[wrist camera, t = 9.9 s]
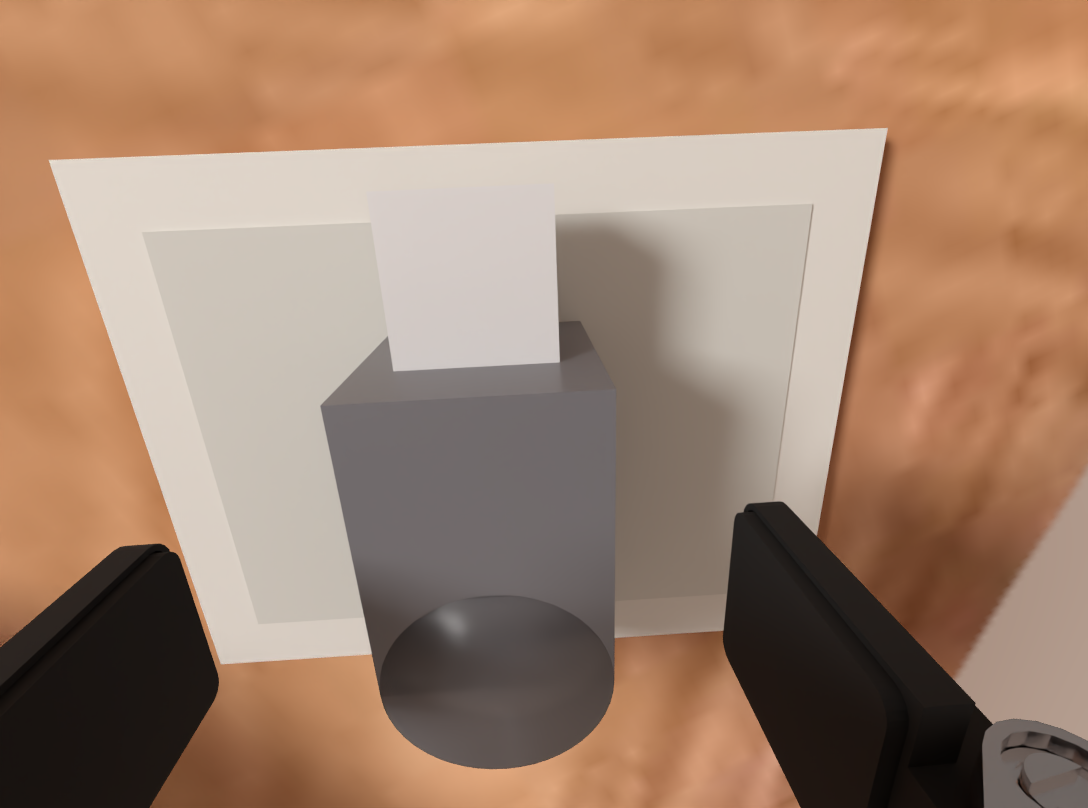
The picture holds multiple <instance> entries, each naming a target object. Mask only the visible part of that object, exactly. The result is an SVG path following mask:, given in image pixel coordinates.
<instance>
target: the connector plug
mask: <svg viewBox="0 0 1088 808" xmlns="http://www.w3.org/2000/svg"><path fill="white" fill-rule="evenodd" d="M366 194H367V201H368V207H369V214H370V221H371V227H372V234H373V240H374V247H375V254H376V260H377V267H378V273H379V280H380V287H381V293H382V300H383V306H384V313H385V320H386V326H387V333H388V336H387V337H386V338H385V339H384V340H383V341H382V342H381V343H380V345H379V346H378V347H377V348H376V349H375V350H374V351H373V352H372V353H371V354H370V355H369V356H368V357H367V358H366V359H365V360H364V361H363V362H362V363H361V364H360V365H359V366H358V367H357V368H356V369H355V370H354V371H353V372H352V373H351V374H350V375H349V377H348V378H347V379H346V380H345V381H344V382H343V383H342V384H341V385H340V386H339V387H338V388H337V389H336V390H335V391H334V392H333V393H332V394H331V395H330V396H329V397H328V398H327V399H326V400H325V401H324V402H323V403H322V404H321V405H320V407H321V412H322V417H323V422H324V427H325V431H326V436H327V441H328V446H329V451H330V455H331V460H332V465H333V470H334V475H335V479H336V484H337V489H338V494H339V499H340V503H341V508H342V513H343V518H344V523H345V527H346V532H347V537H348V542H349V547H350V551H351V556H352V561H353V566H354V571H355V575H356V580H357V585H358V590H359V595H360V599H361V604H362V609H363V614H364V619H365V623H366V628H367V633H368V638H369V642H370V647H371V652H372V657H373V662H374V666H375V671H376V676H377V681H378V686H379V690H380V695H381V699H382V703H383V706H384V709H385V711H386V713H387V715H388V717H389V719H390V720H391V722H392V723H393V725H394V726H395V727H396V729H397V730H398V731H399V732H400V733H401V734H402V735H403V736H404V737H405V738H406V739H407V740H408V741H410V742H411V743H412V744H413V745H415V746H416V747H418V748H419V749H421V750H423V751H424V752H426V753H428V754H430V755H432V756H434V757H436V758H439V759H441V760H444V761H447V762H450V763H453V764H457V765H461V766H466V767H473V768H482V769H507V768H516V767H522V766H527V765H532V764H535V763H539V762H542V761H545V760H548V759H550V758H553V757H555V756H557V755H560V754H561V753H563V752H565V751H567V750H569V749H570V748H572V747H573V746H575V745H576V744H578V743H579V742H581V741H582V740H583V739H584V738H585V737H586V736H588V735H589V734H590V733H591V732H592V731H593V729H594V728H595V727H596V726H597V725H598V724H599V722H600V721H601V719H602V718H603V716H604V715H605V713H606V711H607V709H608V706H609V704H610V702H611V698H612V694H613V688H614V643H615V508H616V388H615V386H614V384H613V382H612V380H611V378H610V376H609V374H608V373H607V371H606V369H605V367H604V365H603V363H602V361H601V359H600V357H599V356H598V354H597V352H596V350H595V348H594V346H593V344H592V342H591V340H590V339H589V337H588V335H587V333H586V331H585V329H584V327H583V325H582V323H581V322H580V321H569V322H558V292H557V261H556V231H555V200H554V183H550V184H527V185H505V186H482V187H459V188H437V189H414V190H392V191H369V192H366Z"/></svg>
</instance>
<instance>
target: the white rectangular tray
mask: <svg viewBox="0 0 1088 808" xmlns="http://www.w3.org/2000/svg"><path fill="white" fill-rule="evenodd" d="M887 129H888V128H877V129H851V130H824V131H798V132H772V133H746V134H720V135H694V136H668V137H642V138H615V139H589V140H563V141H537V142H511V143H485V144H459V145H432V146H406V147H380V148H354V149H328V150H302V151H276V152H249V153H223V154H197V155H171V156H145V157H119V158H93V159H67V160H49V162H50V165H51V168H52V171H53V174H54V177H55V180H56V183H57V186H58V189H59V192H60V195H61V197H62V200H63V203H64V206H65V209H66V212H67V215H68V218H69V221H70V224H71V227H72V230H73V233H74V236H75V238H76V241H77V244H78V247H79V250H80V253H81V256H82V259H83V262H84V265H85V268H86V271H87V274H88V276H89V279H90V282H91V285H92V288H93V291H94V294H95V297H96V300H97V303H98V306H99V309H100V312H101V315H102V317H103V320H104V323H105V326H106V329H107V332H108V335H109V338H110V341H111V344H112V347H113V350H114V353H115V356H116V358H117V361H118V364H119V367H120V370H121V373H122V376H123V379H124V382H125V385H126V388H127V391H128V394H129V397H130V399H131V402H132V405H133V408H134V411H135V414H136V417H137V420H138V423H139V426H140V429H141V432H142V435H143V438H144V440H145V443H146V446H147V449H148V452H149V455H150V458H151V461H152V464H153V467H154V470H155V473H156V476H157V478H158V481H159V484H160V487H161V490H162V493H163V496H164V499H165V502H166V505H167V508H168V511H169V514H170V517H171V519H172V522H173V525H174V528H175V531H176V534H177V537H178V540H179V543H180V546H181V549H182V552H183V555H184V558H185V560H186V563H187V566H188V569H189V572H190V575H191V578H192V581H193V584H194V587H195V590H196V593H197V596H198V599H199V601H200V604H201V607H202V610H203V613H204V616H205V619H206V622H207V625H208V628H209V631H210V634H211V637H212V640H213V642H214V645H215V648H216V651H217V654H218V657H219V660H220V663H221V664H233V663H248V662H263V661H278V660H293V659H308V658H323V657H338V656H353V655H367V654H372V652H371V647H370V642H369V638H368V633H367V628H366V623H365V619H364V614H363V609H362V604H361V599H360V595H359V590H358V585H357V580H356V575H355V571H354V566H353V561H352V556H351V551H350V547H349V542H348V537H347V532H346V527H345V523H344V518H343V513H342V508H341V503H340V499H339V494H338V489H337V484H336V479H335V475H334V470H333V465H332V460H331V455H330V451H329V446H328V441H327V436H326V431H325V427H324V422H323V417H322V412H321V407H320V405H321V404H322V403H323V402H324V401H325V400H326V399H327V398H328V397H329V396H330V395H331V394H332V393H333V392H334V391H335V390H336V389H337V388H338V387H339V386H340V385H341V384H342V383H343V382H344V381H345V380H346V379H347V378H348V377H349V375H350V374H351V373H352V372H353V371H354V370H355V369H356V368H357V367H358V366H359V365H360V364H361V363H362V362H363V361H364V360H365V359H366V358H367V357H368V356H369V355H370V354H371V353H372V352H373V351H374V350H375V349H376V348H377V347H378V346H379V345H380V343H381V342H382V341H383V340H384V339H385V338H386V337H387V336H388V333H387V326H386V320H385V313H384V306H383V300H382V293H381V287H380V280H379V273H378V267H377V260H376V254H375V247H374V240H373V234H372V227H371V221H370V214H369V207H368V201H367V194H366V192H369V191H392V190H414V189H437V188H459V187H482V186H505V185H527V184H550V183H554V200H555V231H556V261H557V292H558V322H569V321H580V322H581V323H582V325H583V327H584V329H585V331H586V333H587V335H588V337H589V339H590V340H591V342H592V344H593V346H594V348H595V350H596V352H597V354H598V356H599V357H600V359H601V361H602V363H603V365H604V367H605V369H606V371H607V373H608V374H609V376H610V378H611V380H612V382H613V384H614V386H615V388H616V508H615V638H621V637H636V636H651V635H666V634H681V633H696V632H710V631H723V630H724V620H725V609H726V599H727V589H728V578H729V568H730V558H731V547H732V537H733V526H734V519H735V516H736V514H737V513H740V512H744V508H745V506H746V505H747V504H749V503H762V502H776V501H780V502H784V503H785V504H786V505H787V506H788V507H789V508H790V509H791V510H792V511H793V512H794V513H795V514H796V515H797V516H798V517H799V518H800V519H801V520H802V521H803V522H804V523H805V525H806V526H807V527H808V528H809V529H810V530H811V531H812V532H813V533H814V534H815V535H816V536H817V532H818V526H819V521H820V515H821V509H822V503H823V498H824V492H825V486H826V480H827V475H828V469H829V463H830V457H831V452H832V446H833V440H834V434H835V429H836V423H837V417H838V411H839V405H840V400H841V394H842V388H843V382H844V377H845V371H846V365H847V359H848V354H849V348H850V342H851V336H852V331H853V325H854V319H855V313H856V308H857V302H858V296H859V290H860V284H861V279H862V273H863V267H864V261H865V256H866V250H867V244H868V238H869V233H870V227H871V221H872V215H873V210H874V204H875V198H876V192H877V187H878V181H879V175H880V169H881V163H882V158H883V152H884V146H885V140H886V135H887Z"/></svg>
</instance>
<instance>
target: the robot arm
mask: <svg viewBox="0 0 1088 808" xmlns="http://www.w3.org/2000/svg"><path fill="white" fill-rule="evenodd" d="M723 643H724V648H725V652H726V656H727V658H728V660H729V662H730V664H731V666H732V668H733V670H734V673H735V675H736V677H737V679H738V681H739V683H740V685H741V687H742V689H743V691H744V693H745V695H746V697H747V699H748V701H749V703H750V705H751V707H752V709H753V711H754V713H755V715H756V717H757V719H758V721H759V723H760V725H761V728H762V730H763V732H764V734H765V736H766V738H767V740H768V742H769V744H770V746H771V748H772V750H773V752H774V754H775V756H776V758H777V760H778V762H779V764H780V766H781V768H782V770H783V772H784V774H785V776H786V778H787V780H788V783H789V785H790V787H791V789H792V791H793V793H794V795H795V797H796V799H797V801H798V803H799V805H800V807H801V808H1088V741H1086V740H1085V739H1082V738H1081V737H1078V736H1076V735H1074V734H1072V733H1070V732H1067V731H1066V730H1063V729H1061V728H1057V727H1054V726H1051V725H1047V724H1044V723H1041V722H1037V721H1030V720H1021V719H1010V720H1004V721H999V722H996V723H995V724H992V723H991V722H990V721H989V720H988V719H987V718H986V717H985V715H983V713H982V712H981V711H980V710H979V709H978V708H977V707H976V706H975V702H974V701H973V700H972V699H971V698H970V697H969V696H968V695H967V694H966V693H965V692H964V690H962V688H961V687H960V686H959V685H958V684H957V683H956V682H955V681H954V680H953V679H952V678H951V677H950V676H949V675H948V674H947V673H946V671H945V670H944V669H943V668H942V667H941V666H940V665H939V664H938V663H937V662H936V661H935V660H934V659H933V658H932V657H931V656H930V655H929V654H928V653H927V652H926V650H925V649H924V648H923V647H922V646H921V645H920V644H919V643H918V642H917V641H916V640H915V639H914V638H913V637H912V636H911V635H910V634H909V633H908V632H907V631H906V629H905V628H904V627H903V626H902V625H901V624H900V623H899V622H898V621H897V620H896V619H895V618H894V617H893V616H892V615H891V614H890V613H889V612H888V611H887V610H886V609H885V607H884V606H883V605H882V604H881V603H880V602H879V601H878V600H877V599H876V598H875V597H874V596H873V595H872V594H871V593H870V592H869V591H868V590H867V589H866V588H865V586H864V585H863V584H862V583H861V582H860V581H859V580H858V579H857V578H856V577H855V576H854V575H853V574H852V573H851V572H850V571H849V570H848V569H847V568H846V567H845V565H844V564H843V563H842V562H841V561H840V560H839V559H838V558H837V557H836V556H835V555H834V554H833V553H832V552H831V551H830V550H829V549H828V548H827V547H826V546H825V544H824V543H823V542H822V541H821V540H820V539H819V538H818V537H817V536H816V535H815V534H814V533H813V532H812V531H811V530H810V529H809V528H808V527H807V526H806V525H805V523H804V522H803V521H802V520H801V519H800V518H799V517H798V516H797V515H796V514H795V513H794V512H793V511H792V510H791V509H790V508H789V507H788V506H787V505H786V504H785V503H784V502H780V501H776V502H762V503H749V504H747V505H746V506H745V508H744V512H740V513H737V514H736V516H735V519H734V526H733V537H732V547H731V558H730V568H729V578H728V589H727V599H726V609H725V620H724V630H723ZM218 686H219V678H218V673H217V670H216V667H215V664H214V661H213V658H212V655H211V652H210V649H209V646H208V643H207V640H206V637H205V634H204V631H203V627H202V624H201V621H200V618H199V615H198V612H197V609H196V606H195V603H194V600H193V597H192V594H191V591H190V588H189V585H188V582H187V579H186V576H185V573H184V570H183V567H182V564H181V561H180V558H179V556H178V555H177V554H176V553H174V552H170V551H169V549H168V548H167V547H166V546H165V545H162V544H148V545H134V546H123V547H119V548H118V549H116V550H114V551H113V552H112V553H111V554H109V555H108V556H107V557H106V558H105V559H104V560H102V561H101V562H100V563H99V564H98V565H97V566H95V567H94V568H93V569H92V570H91V571H90V572H88V573H87V574H86V575H85V576H84V577H83V578H81V579H80V580H79V581H78V582H77V583H76V584H74V585H73V586H72V587H71V588H70V589H69V590H67V591H66V592H65V593H64V594H63V595H61V596H60V597H59V598H58V599H57V600H56V601H54V602H53V603H52V604H51V605H50V606H49V607H47V608H46V609H45V610H44V611H43V612H42V613H40V614H39V615H38V616H37V617H36V618H35V619H33V620H32V621H31V622H30V623H29V624H28V625H26V626H25V627H24V628H23V629H22V630H20V631H19V632H18V633H17V634H16V635H15V636H13V637H12V638H11V639H10V640H9V641H8V642H6V643H5V644H4V645H3V646H2V647H1V648H0V808H149V807H150V805H151V804H152V802H153V801H154V799H155V797H156V796H157V794H158V792H159V791H160V789H161V787H162V786H163V784H164V782H165V781H166V779H167V777H168V776H169V774H170V772H171V771H172V769H173V767H174V766H175V764H176V763H177V761H178V759H179V758H180V756H181V754H182V753H183V751H184V749H185V748H186V746H187V744H188V743H189V741H190V739H191V738H192V736H193V734H194V733H195V731H196V730H197V728H198V726H199V725H200V723H201V721H202V720H203V718H204V716H205V715H206V713H207V711H208V710H209V708H210V706H211V705H212V703H213V701H214V699H215V697H216V694H217V691H218Z"/></svg>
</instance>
